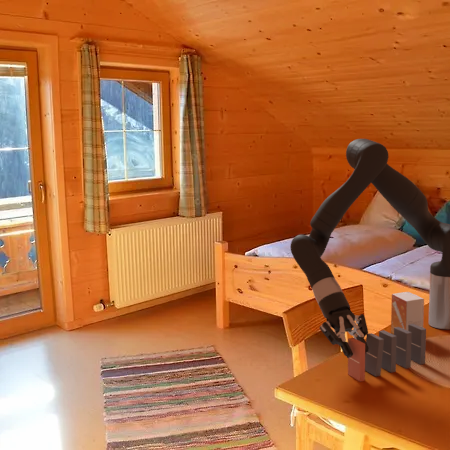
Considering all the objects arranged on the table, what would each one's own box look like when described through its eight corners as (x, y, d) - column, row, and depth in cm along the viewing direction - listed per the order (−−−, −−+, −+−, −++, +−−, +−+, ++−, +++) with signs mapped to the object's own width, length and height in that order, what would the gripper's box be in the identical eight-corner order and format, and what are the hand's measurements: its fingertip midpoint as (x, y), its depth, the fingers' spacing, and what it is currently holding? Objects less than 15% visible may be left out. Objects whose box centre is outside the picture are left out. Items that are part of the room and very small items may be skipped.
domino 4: (397, 360, 160) (398, 326, 159) (410, 367, 156) (411, 332, 154) (393, 362, 160) (393, 327, 158) (406, 368, 155) (406, 333, 153)
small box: (390, 333, 181) (391, 293, 179) (407, 330, 183) (408, 291, 180) (405, 342, 173) (406, 300, 171) (423, 339, 175) (424, 298, 173)
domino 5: (412, 357, 162) (412, 323, 161) (425, 363, 158) (426, 328, 156) (407, 358, 162) (408, 324, 160) (420, 364, 157) (421, 330, 156)
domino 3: (383, 364, 158) (383, 330, 156) (395, 371, 154) (396, 336, 152) (378, 366, 157) (379, 331, 156) (391, 372, 153) (391, 337, 151)
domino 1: (352, 373, 154) (353, 337, 152) (364, 380, 149) (365, 343, 147) (347, 374, 153) (348, 338, 151) (359, 381, 148) (360, 345, 147)
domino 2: (368, 368, 156) (371, 333, 155) (380, 375, 151) (384, 339, 150) (363, 369, 155) (366, 333, 154) (375, 376, 151) (379, 339, 149)
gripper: (314, 295, 152) (342, 354, 144) (357, 286, 158) (386, 342, 150) (303, 308, 158) (329, 366, 149) (345, 300, 164) (373, 355, 155)
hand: (358, 354), depth 150 cm, fingers open, 4 cm apart
